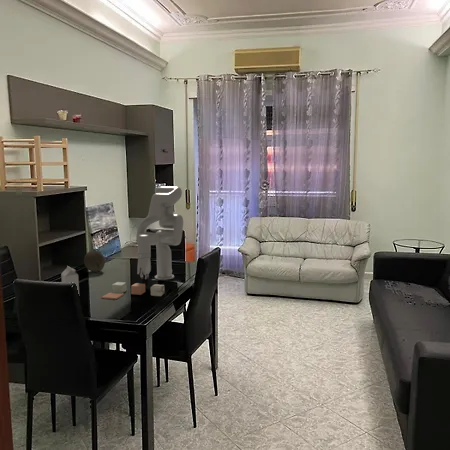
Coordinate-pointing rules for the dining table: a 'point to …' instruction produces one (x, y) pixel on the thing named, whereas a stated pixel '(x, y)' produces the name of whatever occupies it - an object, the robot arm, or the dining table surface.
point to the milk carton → (70, 276)
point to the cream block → (157, 290)
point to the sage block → (119, 287)
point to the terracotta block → (138, 288)
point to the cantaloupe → (94, 261)
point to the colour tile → (113, 295)
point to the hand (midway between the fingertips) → (145, 285)
